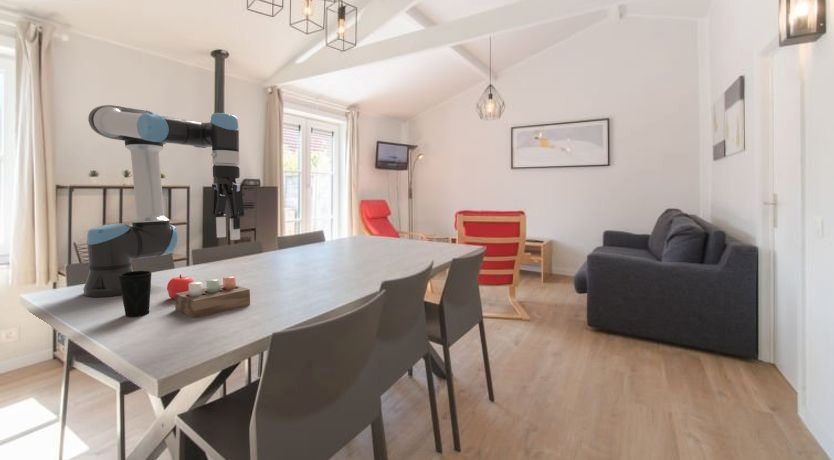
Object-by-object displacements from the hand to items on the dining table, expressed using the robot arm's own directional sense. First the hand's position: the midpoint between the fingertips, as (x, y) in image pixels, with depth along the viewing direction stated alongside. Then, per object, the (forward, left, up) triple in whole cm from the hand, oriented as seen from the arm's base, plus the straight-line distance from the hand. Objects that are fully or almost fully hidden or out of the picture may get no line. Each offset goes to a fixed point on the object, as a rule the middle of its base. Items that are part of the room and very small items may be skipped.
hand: (228, 238), depth 123 cm
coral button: (0, 0, -17) cm, 17 cm away
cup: (-10, -22, -21) cm, 32 cm away
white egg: (0, -10, -17) cm, 20 cm away
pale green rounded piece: (0, -5, -17) cm, 17 cm away
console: (0, -5, -21) cm, 22 cm away
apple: (-18, -7, -21) cm, 29 cm away
